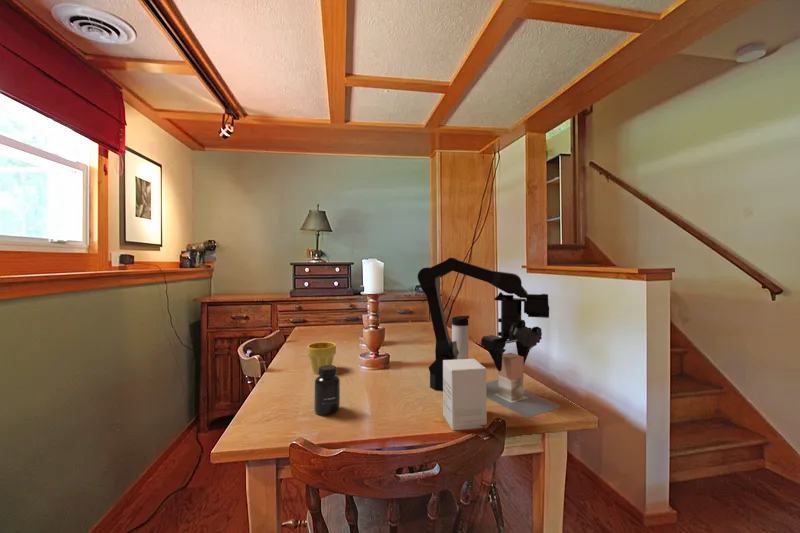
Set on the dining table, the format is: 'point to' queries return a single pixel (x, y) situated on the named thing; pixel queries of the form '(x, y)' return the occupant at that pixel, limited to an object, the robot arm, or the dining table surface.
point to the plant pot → (321, 354)
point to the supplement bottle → (327, 391)
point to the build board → (520, 401)
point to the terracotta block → (512, 366)
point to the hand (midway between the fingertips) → (510, 368)
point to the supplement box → (464, 394)
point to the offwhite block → (510, 388)
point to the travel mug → (460, 335)
